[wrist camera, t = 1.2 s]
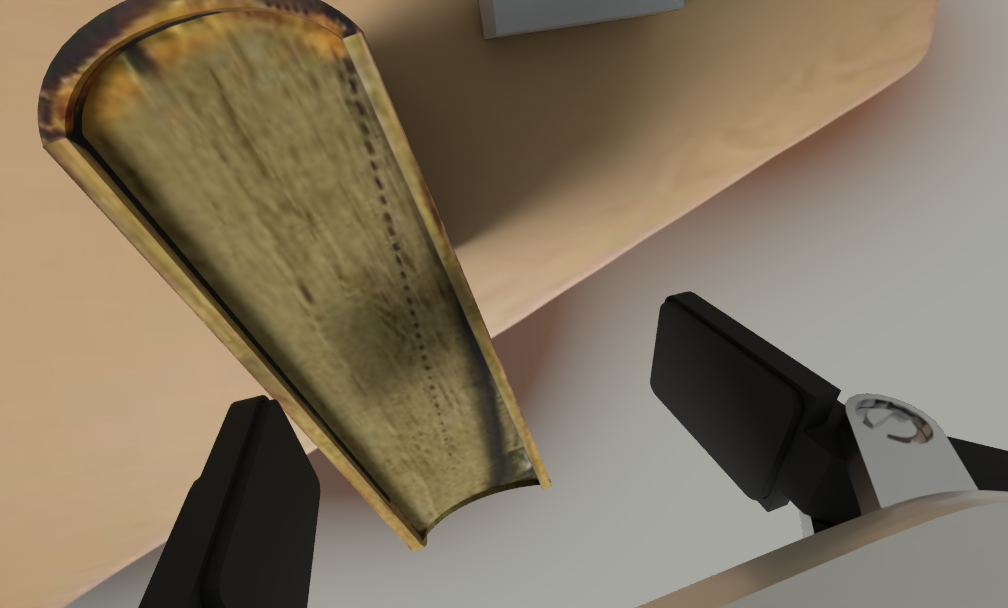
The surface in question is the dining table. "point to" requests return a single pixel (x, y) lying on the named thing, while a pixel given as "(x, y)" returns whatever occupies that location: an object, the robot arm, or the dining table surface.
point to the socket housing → (562, 13)
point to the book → (296, 235)
